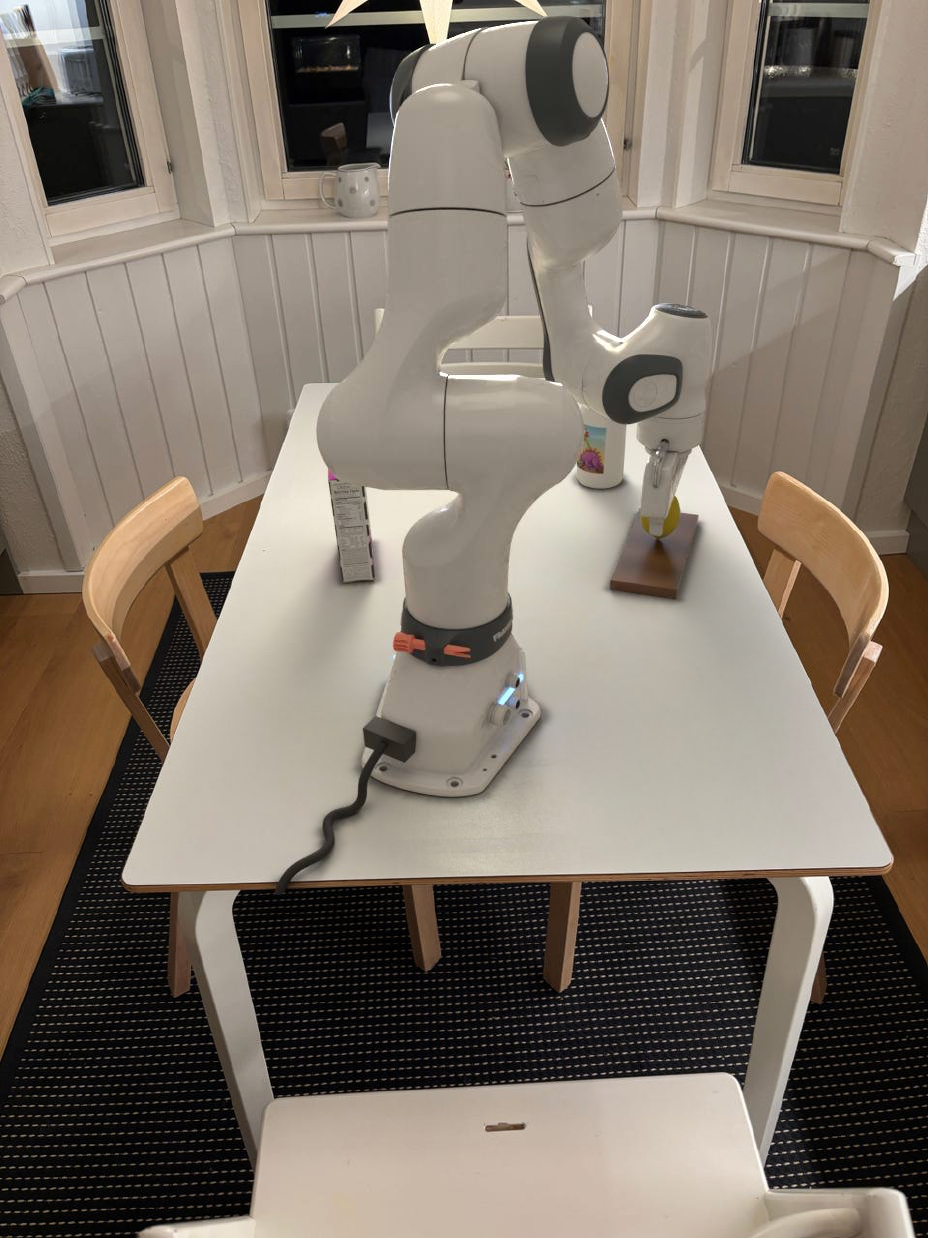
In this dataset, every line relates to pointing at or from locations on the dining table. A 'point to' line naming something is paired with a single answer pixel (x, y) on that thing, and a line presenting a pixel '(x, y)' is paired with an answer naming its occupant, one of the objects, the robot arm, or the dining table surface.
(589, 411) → the milk bottle
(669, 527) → the lemon
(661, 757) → the dining table surface
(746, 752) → the dining table surface
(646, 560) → the serving board
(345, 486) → the candy bar box
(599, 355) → the robot arm
